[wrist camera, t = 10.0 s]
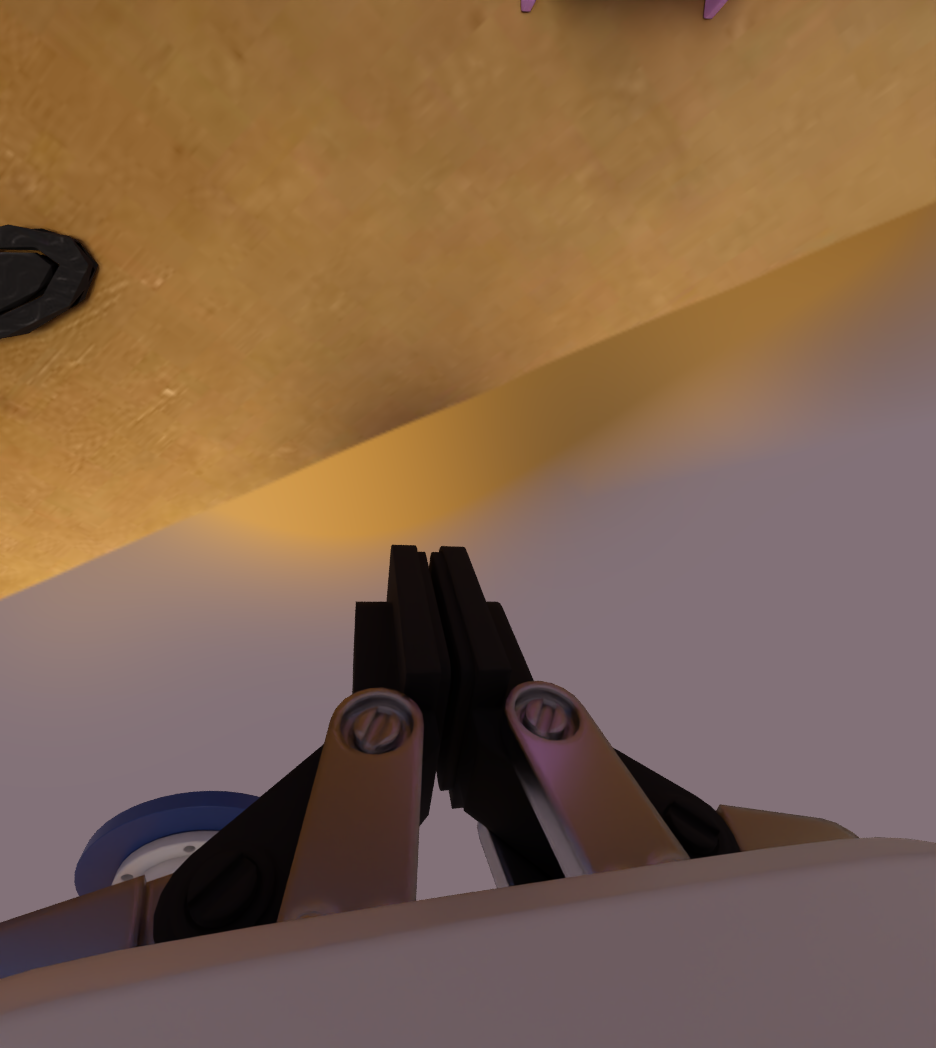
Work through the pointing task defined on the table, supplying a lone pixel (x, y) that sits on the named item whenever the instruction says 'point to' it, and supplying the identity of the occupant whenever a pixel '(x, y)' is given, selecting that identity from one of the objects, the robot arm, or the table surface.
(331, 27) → the table surface
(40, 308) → the hairbrush
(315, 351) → the table surface
